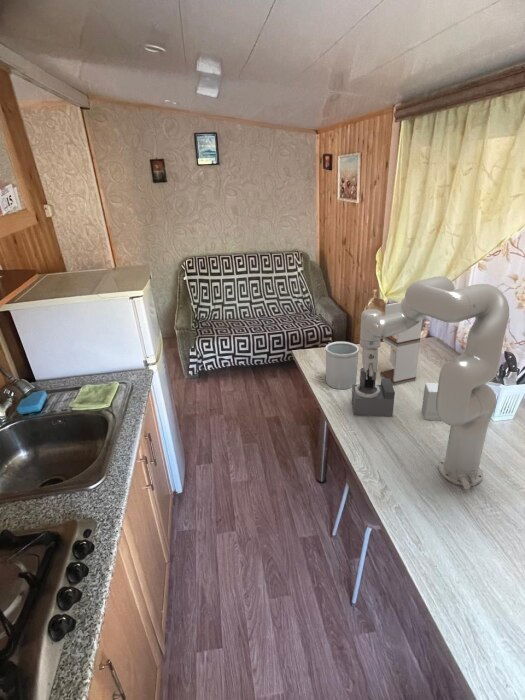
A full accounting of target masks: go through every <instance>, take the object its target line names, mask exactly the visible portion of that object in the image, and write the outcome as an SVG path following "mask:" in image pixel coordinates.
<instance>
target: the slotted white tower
mask: <svg viewBox="0 0 525 700" xmlns="http://www.w3.org/2000/svg"><path fill="white" fill-rule="evenodd" d="M401 302H402V301H401ZM401 302H400V301H399V302H395V303H390V304H389V303H388V304H387V303H386V304H385V306H384V316H385V315H388V314H392V313H396V312H398V311H400V310H402V309H401ZM423 319H424V317H423V318H422V320H421V321H420V322H419V323H418V324H416V325H415V326H413V327H412V328H410V329H408V330H406V331H404V332H402V333H398V334H395V335H392V336H389V337H385V338H382V342H383V343H385V344H387V346H390V353H389V362H390V364H391V366H392V367H393V368H391V369H386V370H383V371H380V377H382V378H389V379H390V380H391V383H392V386H393V387H394V386H395V387H396V386H399V385H403V384H408V383H411V381H412V382H415V381H417V380H416V378H417V370H418V361H419V354H420V353H419V352H420V345H421V335H422V328H423V327H422V326H423ZM407 382H408V383H407Z"/></svg>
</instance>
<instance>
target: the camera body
mask: <svg viewBox="0 0 525 700" xmlns="http://www.w3.org/2000/svg"><path fill="white" fill-rule="evenodd" d="M395 393H396V391H395V388H394V386H393V385H392V383H391V380H390V379H389V378H383V377H382V378H381V379H380V384H375V388H374V389H372V390H365V389H362V388H361V387H360V383H359V384H355V385H352V387H351V405H352V406H351V407H352V412H353V416H354V417H394V416H393V415H394V408H395V407H394V406H395Z"/></svg>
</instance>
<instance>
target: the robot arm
mask: <svg viewBox="0 0 525 700" xmlns="http://www.w3.org/2000/svg"><path fill="white" fill-rule="evenodd" d="M401 309H402V310H400V311H398V312H396V313H392V314H388V315H385V314H384V315H383V313H382V311H380V310H379V309H376V308H375V309H374V308H369V309H368V308H367V309H365V310H363V311H362V312H361V314H360V333H359V334H360V336H359V347H361V348H362V354H361V355H362V357H361V358H362V368H364V371H365V372H366V378H365V388H373V382H374V378H373V373H374V372H376V374H377V373H378V367H379V366H378V363H379V361H378V360H379V349H380V348H381V341H382V340H381V339H383V338H385V337H389V336H392V335H395V334H398V333H402V332H404V331H406V330H408V329H410V328H412V327H413V326H415V325H416V324H418V323H419V322H420V321H421V320H422V321H423V319H424V318H425V317H426V316H427V317H429V318H433V319H434V320H435V319H436V320H437V321H438V320H439V321H441V322H444V323H450V324H451V323H453V324H455V323H460V322H463V321H467V320H470V319H474V318H475V319H474V322H473V324H472V326H471V327H470V329H469V331H468V334H467V337H466V343H465V344H466V345H465V349H464V351H463V352H462V353H461V354H459V355H457V356H455V357H453V358H449V359H448V360H447V361H446V362H445V363H444V364H443V366H442V367H441V369H440V372H439V376H438V382H437V383H438V390H437V397H436V410H437V414H438V416H439V418H440V419H441V420H442V423H444V424H445V425H447V426H450V429H449V434H448V439H447V445H446V451H445V457H444V458H442V459H441V460H440V461H439V462H438V471H439V473H440V475H441V476H442V477H443V478H444V479H445V480H447V481H448V482H449V483H450V482H451V483H452V484H455V485H458V486H462V487H463V488H464V489H465V490H469V489H470V488H471V487H473V486H477V485H479V484H480V483H481V482H482V481H483V479H484V473H483V472H484V471H483V470H482V469H481V467H480V463H481V459H482V454H483V451H484V444H485V441H486V436H487V431H488V428H489V424H490V421H491V419H492V417H493V414H494V412H495V409H496V407H497V396H496V393H495V391H494V389H493V388H492V387H491V386H489V385H488V384H487V383H489V382H491V381H492V380H494V379H495V378H496V376H497V374H498V370H499V365H500V360H501V356H502V351H503V344H504V338H505V335H506V332H507V331H506V330H507V328H508V324H509V319H510V305H509V302H508V299H507V298H506V296H505V294H504V293H503V292H502V291H501V290H500V289H499V288H498V287H496V286H494V285H491V284H489V283H488V284H487V283H479V284H472V285H467V286H464V287H461V288H456V287H455V284H454V282H453V281H452V280H451V279H449V278H448V277H445V276H433V277H429V278H425V279H420V280H417V281H415V282H412V283H410V284H409V285H408V287H407V289H406V291H405V292H404V297H403V298H402V300H401ZM422 318H423V319H422ZM367 370H369V371H367ZM373 370H374V372H373ZM368 373H369V375H368Z"/></svg>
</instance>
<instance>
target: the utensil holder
mask: <svg viewBox="0 0 525 700" xmlns="http://www.w3.org/2000/svg"><path fill="white" fill-rule="evenodd" d="M324 350H325V382H326V384H327V385H328V386H329V387H330V388H333V389H337V390H346V389H352V385H357V384H356V383H357V377H358V376H357V375H358V365H359V364H358V361H359V353H360V346H358V345H357V344H355V343H353V342H349V341H334V342H329V343H327V344H326V345H325V347H324Z"/></svg>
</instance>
